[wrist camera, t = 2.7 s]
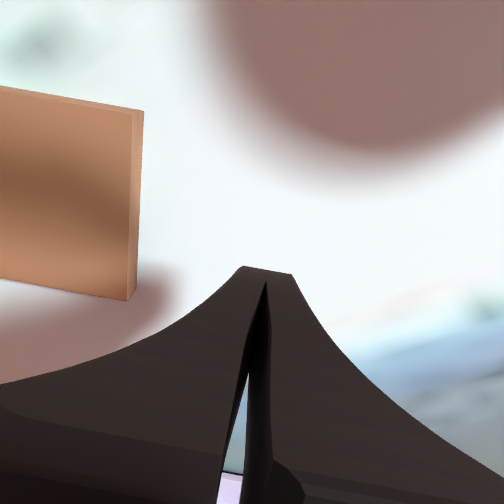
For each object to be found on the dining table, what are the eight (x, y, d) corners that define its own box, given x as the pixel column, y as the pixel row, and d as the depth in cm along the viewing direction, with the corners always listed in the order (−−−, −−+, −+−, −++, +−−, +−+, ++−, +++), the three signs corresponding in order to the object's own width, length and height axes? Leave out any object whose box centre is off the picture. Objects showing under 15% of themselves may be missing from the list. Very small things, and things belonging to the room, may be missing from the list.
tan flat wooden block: (140, 281, 17) (126, 301, 16) (-66, 243, 18) (-98, 259, 16) (148, 109, 15) (132, 114, 13) (-99, 65, 15) (-142, 65, 13)
